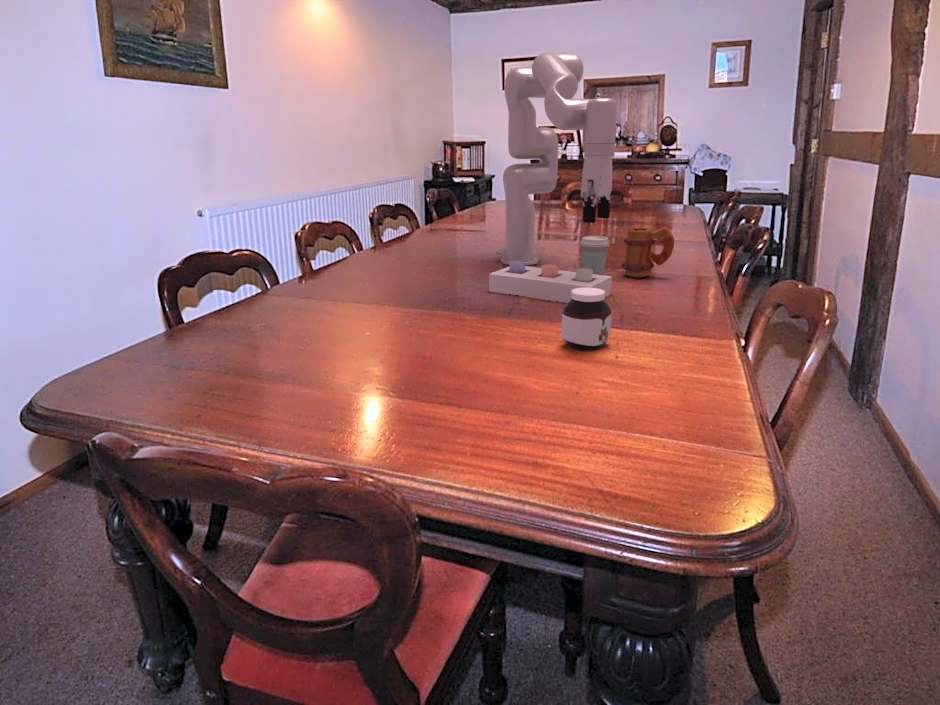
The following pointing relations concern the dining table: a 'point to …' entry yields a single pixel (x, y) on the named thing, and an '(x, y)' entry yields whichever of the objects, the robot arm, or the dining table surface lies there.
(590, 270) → the sage button
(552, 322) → the dining table surface
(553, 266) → the orange rounded piece
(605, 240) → the coffee cup
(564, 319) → the spread jar
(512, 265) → the slate button
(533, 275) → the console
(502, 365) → the dining table surface
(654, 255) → the mug
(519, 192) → the robot arm
